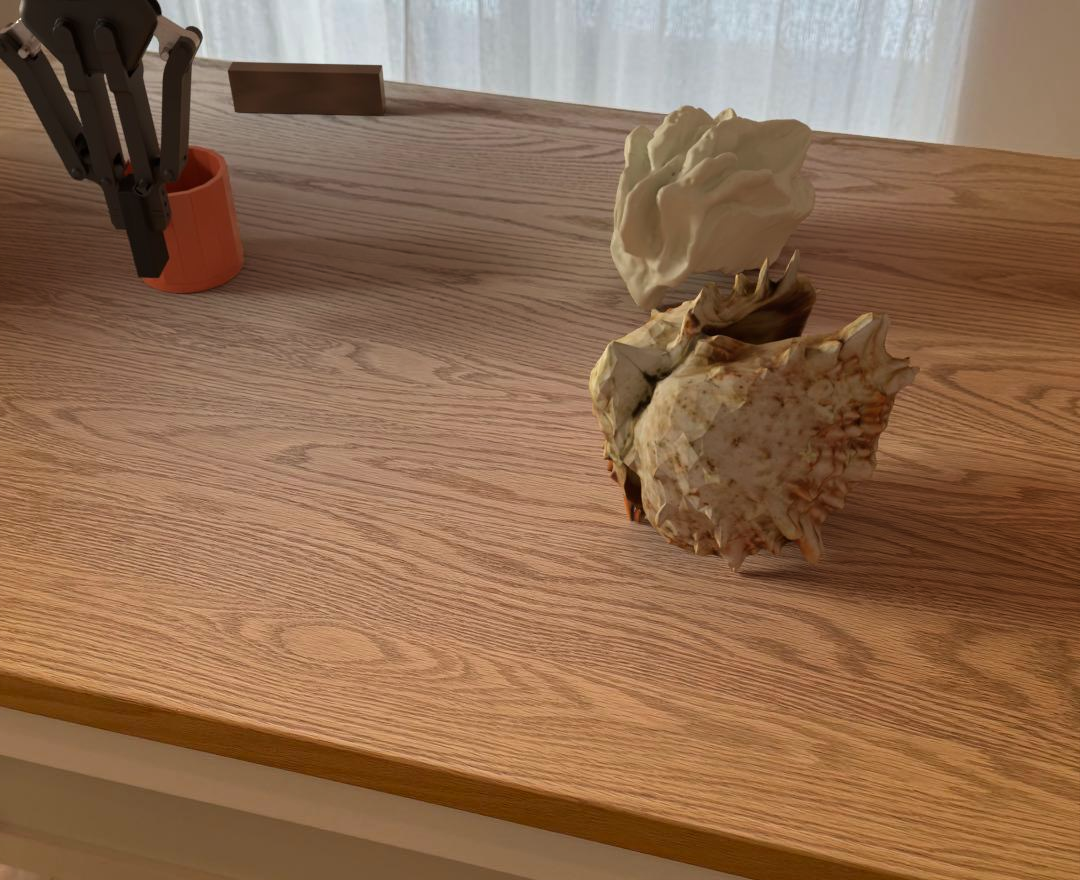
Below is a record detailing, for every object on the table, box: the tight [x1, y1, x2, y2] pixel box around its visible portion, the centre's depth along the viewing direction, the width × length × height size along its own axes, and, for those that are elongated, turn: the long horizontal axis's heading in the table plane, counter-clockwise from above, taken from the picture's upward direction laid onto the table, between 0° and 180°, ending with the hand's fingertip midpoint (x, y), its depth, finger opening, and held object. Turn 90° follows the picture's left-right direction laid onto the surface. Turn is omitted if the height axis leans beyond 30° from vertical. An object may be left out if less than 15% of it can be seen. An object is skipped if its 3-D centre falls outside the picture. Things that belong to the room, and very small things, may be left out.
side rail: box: [227, 61, 387, 116], centre depth 115 cm, size 14×2×4 cm, turn 87°
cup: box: [125, 144, 245, 294], centre depth 94 cm, size 8×8×8 cm
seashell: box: [588, 248, 921, 573], centre depth 70 cm, size 18×18×15 cm
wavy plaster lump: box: [609, 104, 817, 312], centre depth 92 cm, size 18×13×16 cm
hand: (154, 267), depth 88 cm, fingers closed
